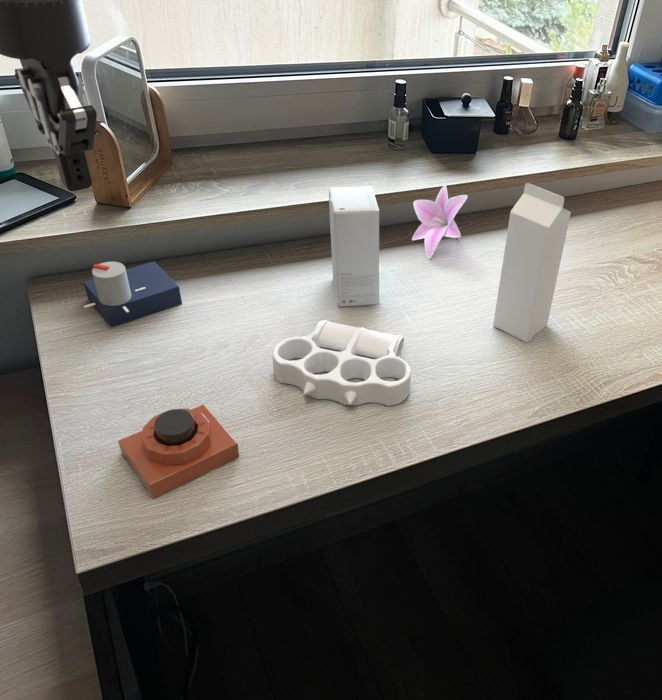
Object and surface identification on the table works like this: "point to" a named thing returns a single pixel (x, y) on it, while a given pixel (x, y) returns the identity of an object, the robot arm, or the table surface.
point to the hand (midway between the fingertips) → (77, 186)
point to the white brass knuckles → (344, 365)
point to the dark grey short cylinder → (175, 427)
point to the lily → (437, 219)
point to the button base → (178, 453)
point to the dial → (111, 283)
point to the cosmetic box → (354, 245)
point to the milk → (531, 262)
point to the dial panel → (138, 295)
